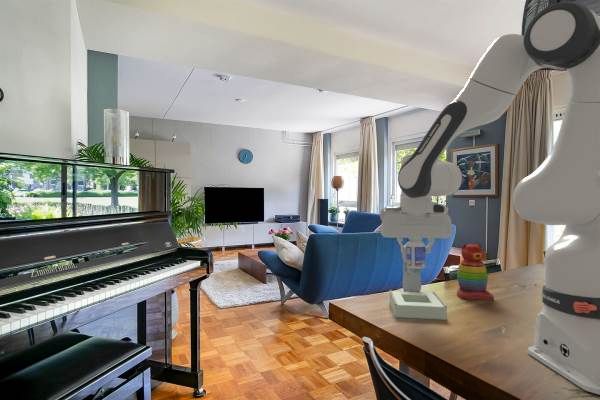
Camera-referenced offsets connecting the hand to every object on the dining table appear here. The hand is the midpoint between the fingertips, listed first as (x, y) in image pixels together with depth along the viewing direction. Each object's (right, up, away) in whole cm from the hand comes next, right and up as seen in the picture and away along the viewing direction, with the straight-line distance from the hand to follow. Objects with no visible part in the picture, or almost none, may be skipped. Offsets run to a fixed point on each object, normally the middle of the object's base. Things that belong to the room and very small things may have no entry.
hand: (415, 252), depth 100 cm
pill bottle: (0, -5, 0) cm, 5 cm away
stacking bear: (+25, -17, +14) cm, 33 cm away
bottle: (+5, -17, +18) cm, 26 cm away
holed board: (0, -17, 0) cm, 17 cm away
